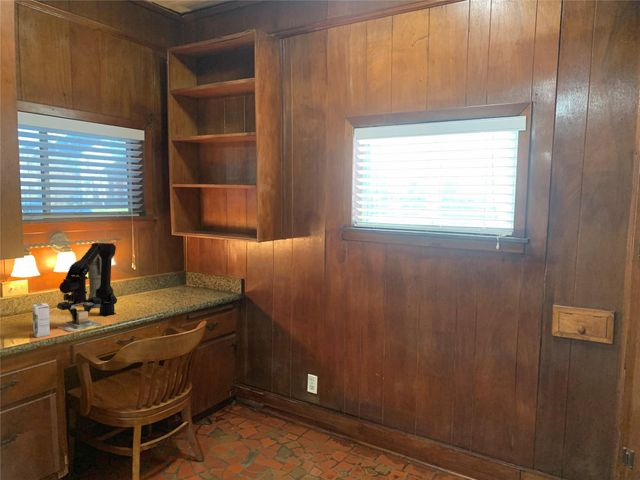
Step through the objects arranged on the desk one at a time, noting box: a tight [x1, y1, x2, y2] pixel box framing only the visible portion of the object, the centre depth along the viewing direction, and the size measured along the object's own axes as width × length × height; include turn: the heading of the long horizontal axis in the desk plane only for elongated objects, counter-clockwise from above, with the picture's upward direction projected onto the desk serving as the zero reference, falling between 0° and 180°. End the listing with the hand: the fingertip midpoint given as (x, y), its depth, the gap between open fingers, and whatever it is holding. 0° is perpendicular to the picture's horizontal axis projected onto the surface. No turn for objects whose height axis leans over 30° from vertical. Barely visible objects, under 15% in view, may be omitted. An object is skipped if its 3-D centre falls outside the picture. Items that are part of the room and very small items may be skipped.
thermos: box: [87, 254, 101, 309], centre depth 254 cm, size 9×12×35 cm
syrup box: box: [32, 302, 51, 338], centre depth 200 cm, size 6×6×14 cm
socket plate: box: [57, 319, 103, 333], centre depth 215 cm, size 16×12×2 cm
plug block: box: [71, 309, 89, 325], centre depth 215 cm, size 7×4×6 cm, turn 55°
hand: (80, 320), depth 215 cm, fingers closed on plug block, 4 cm apart
